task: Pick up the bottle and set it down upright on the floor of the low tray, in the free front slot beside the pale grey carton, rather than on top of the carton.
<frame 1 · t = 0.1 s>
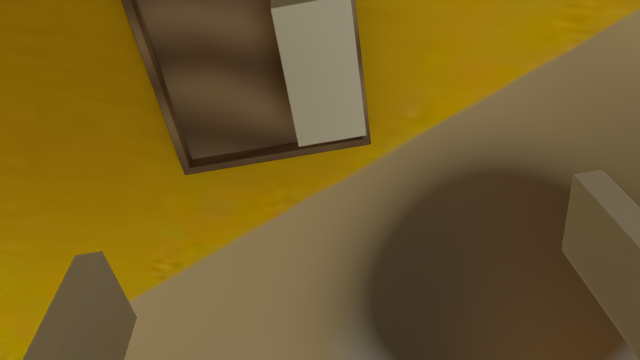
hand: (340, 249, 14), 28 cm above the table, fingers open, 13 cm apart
carton: (316, 47, 39), point 1 cm above the table, touching tray
tray: (256, 55, 40), on the table
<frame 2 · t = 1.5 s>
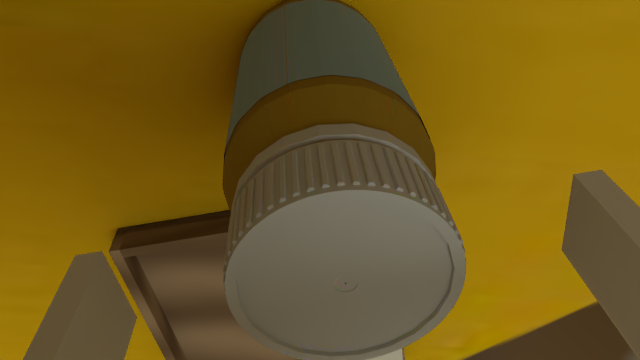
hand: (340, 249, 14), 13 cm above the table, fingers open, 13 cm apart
bottle: (312, 63, 25), on the table
tray: (278, 303, 34), on the table
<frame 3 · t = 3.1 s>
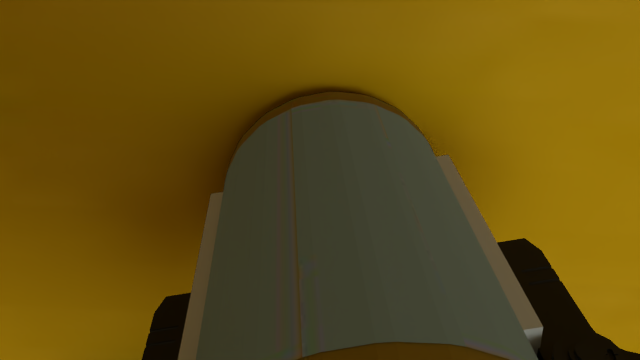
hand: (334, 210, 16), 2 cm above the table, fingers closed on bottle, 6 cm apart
bottle: (329, 174, 18), on the table, touching gripper
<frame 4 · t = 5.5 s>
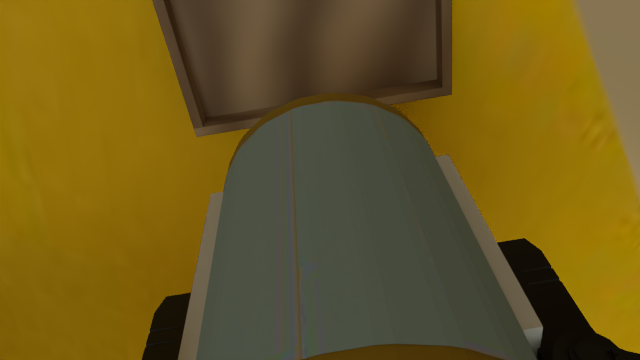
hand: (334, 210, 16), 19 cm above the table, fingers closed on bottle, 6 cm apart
bottle: (329, 175, 18), point 17 cm above the table, touching gripper
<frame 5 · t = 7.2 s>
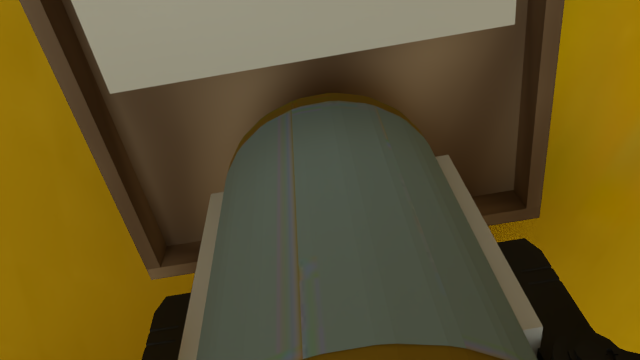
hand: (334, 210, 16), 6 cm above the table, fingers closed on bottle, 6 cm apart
bottle: (329, 175, 18), point 4 cm above the table, touching gripper
tray: (311, 56, 19), on the table
when the fingers open (2 cm above the table, at t = 8.2 s): bottle stays where it is, resting on tray.
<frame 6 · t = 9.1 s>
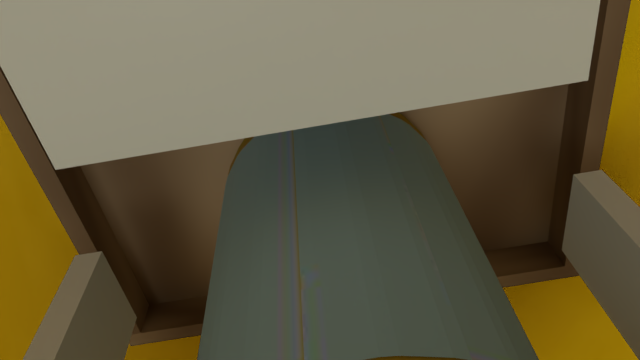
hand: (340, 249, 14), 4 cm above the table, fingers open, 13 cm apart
bottle: (330, 179, 17), resting on tray
tray: (315, 94, 16), on the table
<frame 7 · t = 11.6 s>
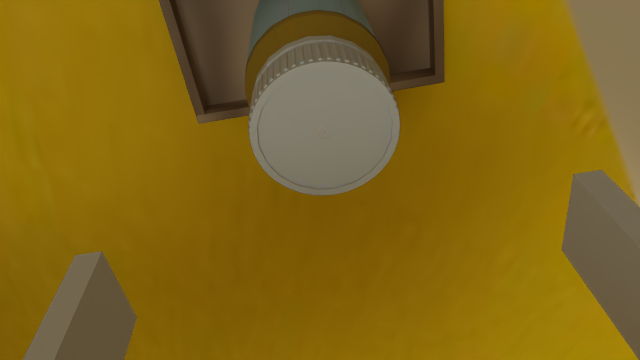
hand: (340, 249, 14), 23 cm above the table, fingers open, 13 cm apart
bottle: (308, 24, 33), resting on tray
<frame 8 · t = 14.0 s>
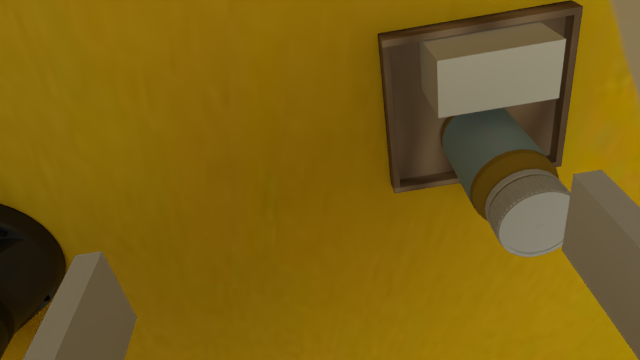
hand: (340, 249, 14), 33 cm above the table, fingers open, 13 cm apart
bottle: (473, 129, 50), resting on tray
carton: (475, 54, 45), point 1 cm above the table, touching tray
tray: (472, 100, 48), on the table
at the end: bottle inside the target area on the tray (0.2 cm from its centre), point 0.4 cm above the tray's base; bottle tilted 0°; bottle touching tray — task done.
